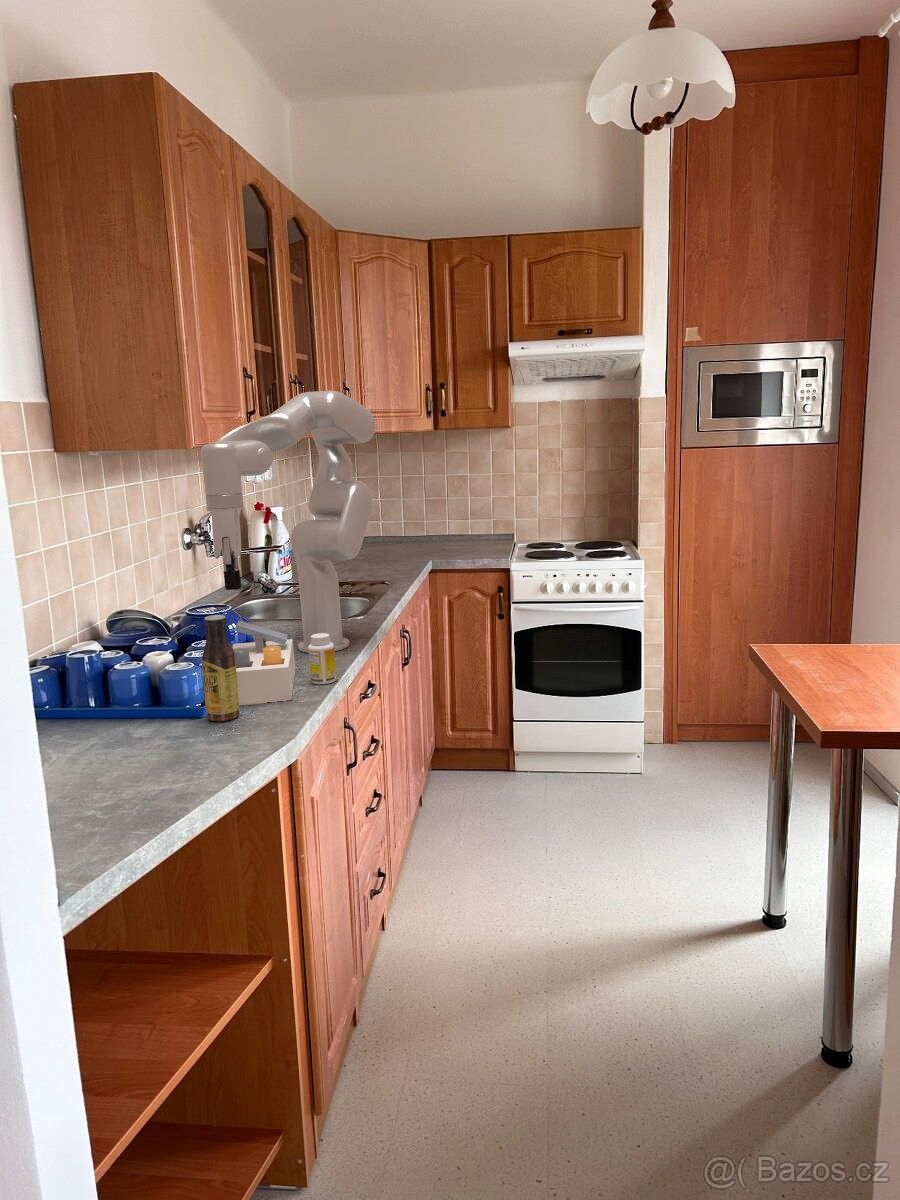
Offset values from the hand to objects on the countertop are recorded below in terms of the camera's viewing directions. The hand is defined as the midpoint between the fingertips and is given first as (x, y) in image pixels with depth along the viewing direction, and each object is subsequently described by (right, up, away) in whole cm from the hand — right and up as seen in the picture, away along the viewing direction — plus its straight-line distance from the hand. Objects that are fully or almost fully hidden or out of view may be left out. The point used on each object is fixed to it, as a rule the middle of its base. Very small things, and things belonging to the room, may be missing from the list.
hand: (233, 588), depth 189 cm
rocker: (+5, -11, +3) cm, 12 cm away
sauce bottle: (+3, -25, -19) cm, 32 cm away
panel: (+6, -21, 0) cm, 22 cm away
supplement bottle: (+19, -20, +1) cm, 28 cm away
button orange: (+10, -20, -7) cm, 23 cm away
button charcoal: (+4, -20, -8) cm, 22 cm away
